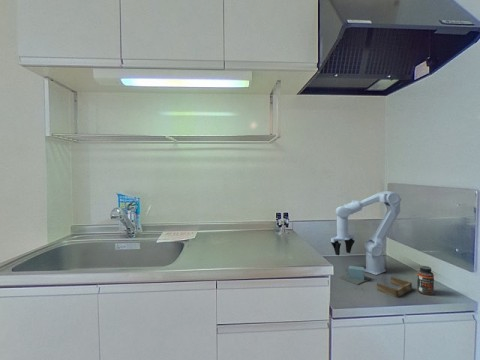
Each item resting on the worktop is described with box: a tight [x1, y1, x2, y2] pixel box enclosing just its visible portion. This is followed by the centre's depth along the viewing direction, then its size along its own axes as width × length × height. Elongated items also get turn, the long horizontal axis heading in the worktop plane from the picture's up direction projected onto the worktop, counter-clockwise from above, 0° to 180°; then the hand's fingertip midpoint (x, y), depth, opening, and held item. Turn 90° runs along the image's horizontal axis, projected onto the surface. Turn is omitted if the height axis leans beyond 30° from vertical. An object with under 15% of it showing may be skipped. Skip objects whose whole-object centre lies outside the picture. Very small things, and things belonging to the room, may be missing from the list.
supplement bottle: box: [416, 265, 435, 296], centre depth 118 cm, size 6×6×11 cm
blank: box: [347, 265, 365, 280], centre depth 134 cm, size 4×7×5 cm, turn 63°
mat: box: [339, 273, 372, 286], centre depth 135 cm, size 11×10×1 cm
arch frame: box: [376, 276, 413, 298], centre depth 121 cm, size 13×9×3 cm
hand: (342, 253), depth 145 cm, fingers open, 7 cm apart
